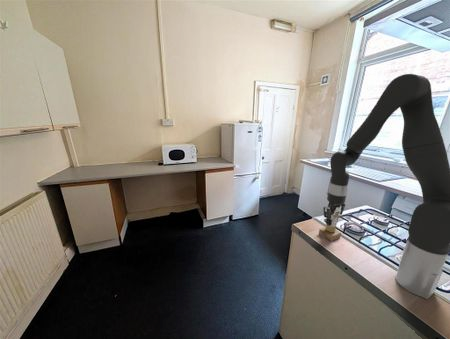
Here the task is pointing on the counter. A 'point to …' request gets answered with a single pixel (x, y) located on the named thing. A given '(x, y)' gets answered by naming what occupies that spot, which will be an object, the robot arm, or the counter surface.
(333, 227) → the sprinkles bottle
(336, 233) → the walnut block
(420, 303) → the counter surface
